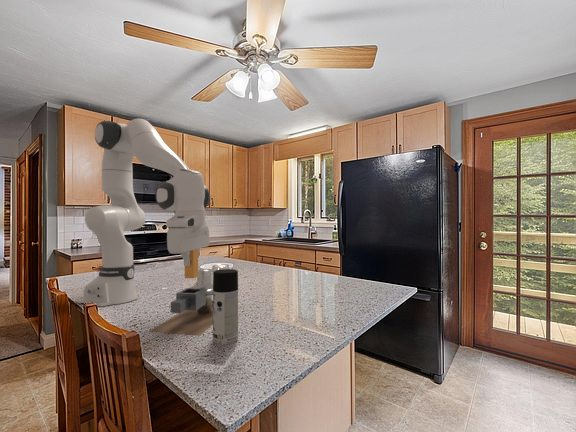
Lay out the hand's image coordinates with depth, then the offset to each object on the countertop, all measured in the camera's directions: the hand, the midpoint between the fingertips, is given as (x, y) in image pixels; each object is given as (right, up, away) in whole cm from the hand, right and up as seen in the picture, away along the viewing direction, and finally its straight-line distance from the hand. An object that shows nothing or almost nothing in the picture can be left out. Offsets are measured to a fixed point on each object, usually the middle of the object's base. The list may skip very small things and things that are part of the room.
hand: (191, 264), depth 94 cm
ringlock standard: (+1, -18, +3) cm, 18 cm away
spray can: (+14, -20, -14) cm, 28 cm away
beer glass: (+4, -19, +23) cm, 30 cm away
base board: (+1, -19, +3) cm, 20 cm away
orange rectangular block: (0, -4, 0) cm, 4 cm away
